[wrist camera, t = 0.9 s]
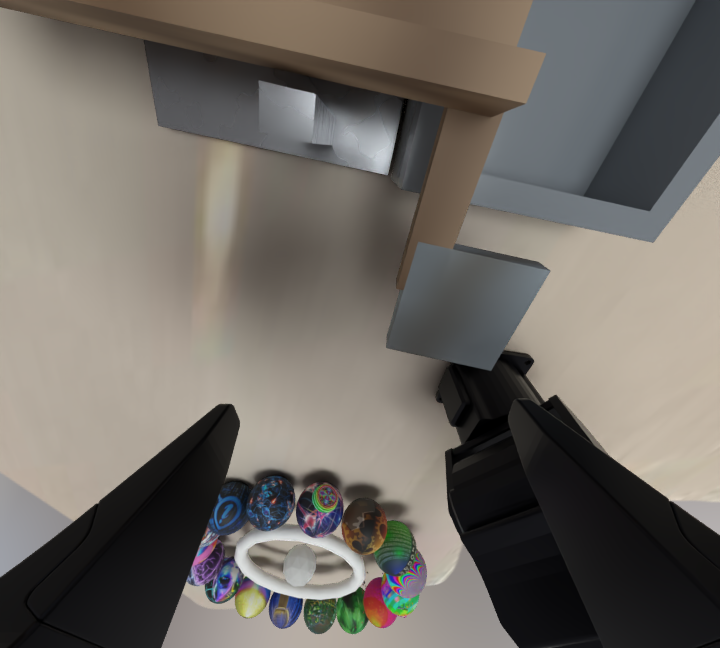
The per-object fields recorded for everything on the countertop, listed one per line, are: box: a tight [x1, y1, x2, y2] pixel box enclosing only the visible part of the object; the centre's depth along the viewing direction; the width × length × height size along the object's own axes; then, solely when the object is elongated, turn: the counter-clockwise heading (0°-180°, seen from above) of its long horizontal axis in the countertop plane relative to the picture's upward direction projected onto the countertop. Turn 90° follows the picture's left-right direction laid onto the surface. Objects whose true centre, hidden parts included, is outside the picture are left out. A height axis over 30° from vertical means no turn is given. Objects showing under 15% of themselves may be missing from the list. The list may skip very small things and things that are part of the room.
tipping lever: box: [0, 0, 550, 371], centre depth 8 cm, size 23×16×4 cm
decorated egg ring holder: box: [187, 476, 427, 634], centre depth 40 cm, size 35×35×9 cm
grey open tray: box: [391, 0, 720, 243], centre depth 11 cm, size 12×12×5 cm
